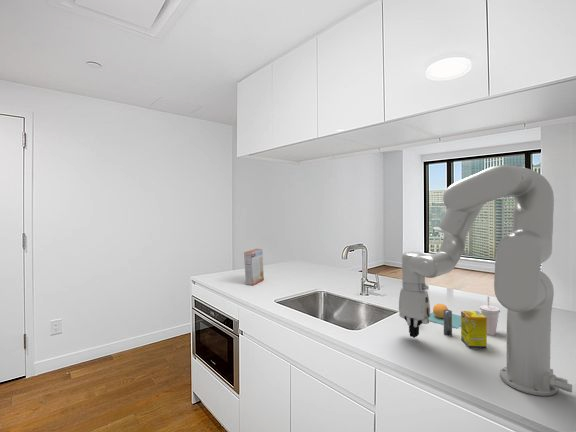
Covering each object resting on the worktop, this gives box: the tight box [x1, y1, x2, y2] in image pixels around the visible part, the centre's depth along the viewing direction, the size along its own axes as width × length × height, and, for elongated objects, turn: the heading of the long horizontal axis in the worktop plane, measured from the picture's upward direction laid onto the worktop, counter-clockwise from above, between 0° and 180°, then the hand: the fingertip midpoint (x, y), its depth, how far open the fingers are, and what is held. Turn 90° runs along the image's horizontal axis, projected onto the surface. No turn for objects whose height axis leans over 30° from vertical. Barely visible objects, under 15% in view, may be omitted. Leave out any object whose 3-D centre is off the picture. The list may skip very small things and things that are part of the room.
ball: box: [432, 303, 449, 318], centre depth 133 cm, size 6×6×6 cm
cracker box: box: [243, 248, 265, 286], centre depth 200 cm, size 14×6×21 cm, turn 155°
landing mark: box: [428, 311, 461, 329], centre depth 132 cm, size 14×14×1 cm
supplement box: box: [460, 310, 488, 349], centre depth 108 cm, size 6×6×11 cm
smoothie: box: [479, 296, 501, 336], centre depth 117 cm, size 6×6×14 cm
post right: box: [443, 309, 453, 337], centre depth 117 cm, size 3×3×9 cm
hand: (414, 335), depth 113 cm, fingers closed
